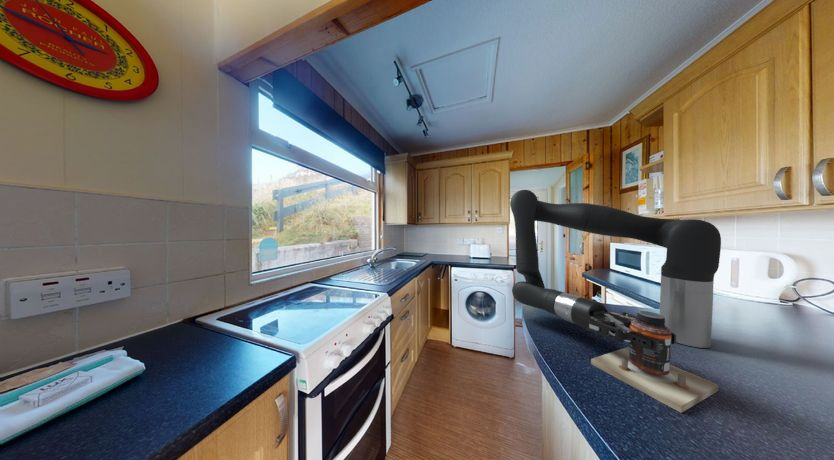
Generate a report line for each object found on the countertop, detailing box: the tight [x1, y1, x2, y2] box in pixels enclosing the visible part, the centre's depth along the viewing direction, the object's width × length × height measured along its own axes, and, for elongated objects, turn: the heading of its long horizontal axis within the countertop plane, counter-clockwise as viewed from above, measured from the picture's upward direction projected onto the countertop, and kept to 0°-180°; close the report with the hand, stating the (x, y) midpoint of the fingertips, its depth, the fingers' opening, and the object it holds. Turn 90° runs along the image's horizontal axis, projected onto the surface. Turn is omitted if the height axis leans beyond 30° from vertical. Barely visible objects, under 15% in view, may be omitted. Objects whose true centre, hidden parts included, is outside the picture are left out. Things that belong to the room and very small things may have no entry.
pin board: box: [590, 346, 719, 414], centre depth 47 cm, size 14×14×3 cm
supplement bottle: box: [629, 310, 672, 375], centre depth 46 cm, size 6×6×11 cm
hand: (666, 342), depth 44 cm, fingers open, 6 cm apart
